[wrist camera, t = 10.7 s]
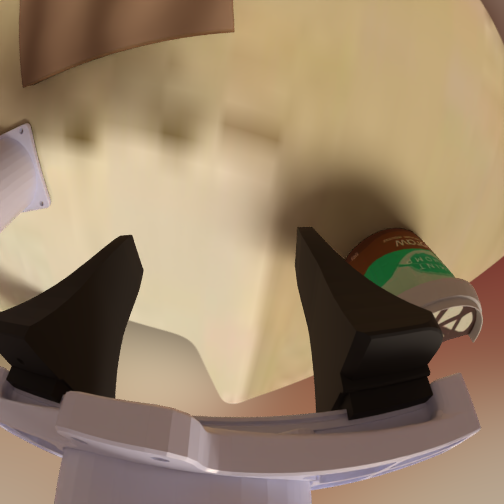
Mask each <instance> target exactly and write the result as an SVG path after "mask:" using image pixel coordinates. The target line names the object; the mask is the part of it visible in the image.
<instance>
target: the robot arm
mask: <svg viewBox="0 0 504 504" xmlns="http://www.w3.org/2000/svg"><path fill="white" fill-rule="evenodd" d="M22 129H23V132H22ZM42 202H43V203H42ZM50 205H51V200H50V197H49V194H48V190H47V187H46V184H45V181H44V178H43V174H42V171H41V167H40V163H39V160H38V156H37V152H36V148H35V143H34V139H33V135H32V130H31V126H30V124H29V123H25V124H23V125H21V126H19V127H17V128H14V129H12V130H10V131H8V132H6V133H4V134H2V135H0V233H1V232H2V231H3V230H4V229H5V228H6V227H7V226H8V225H9V224H10V223H11V222H12V221H13V220H14V219H15V218H16V217H17V216H18V215H19V214H20V213H21V212H27V211H32V210H37V209H43V208H48V207H49V206H50ZM295 270H296V278H297V286H298V290H299V294H300V298H301V302H302V306H303V310H304V314H305V318H306V322H307V326H308V331H309V336H310V343H311V352H312V361H313V371H314V384H315V397H316V398H315V399H316V413H311V414H300V415H287V416H273V417H207V416H191V415H190V414H188V413H185V412H182V411H179V410H176V409H174V408H170V407H165V406H160V405H155V404H147V403H140V402H133V401H126V400H120V399H115V389H116V377H117V368H118V361H119V354H120V349H121V344H122V339H123V335H124V331H125V328H126V325H127V322H128V319H129V317H130V314H131V311H132V308H133V306H134V303H135V300H136V297H137V295H138V292H139V289H140V285H141V280H142V276H143V271H144V270H143V267H142V264H141V261H140V258H139V255H138V252H137V249H136V246H135V243H134V239H133V236H132V235H123V236H119V237H118V238H116V239H115V240H113V241H112V242H111V243H109V244H108V245H107V246H105V247H104V248H103V249H102V250H101V251H99V252H98V253H97V254H96V255H94V256H93V257H92V258H91V259H90V260H88V261H87V262H86V263H85V264H83V265H82V266H81V267H79V268H78V269H77V270H76V271H74V272H73V273H72V274H70V275H69V276H68V277H66V278H65V279H63V280H62V281H61V282H59V283H58V284H56V285H55V286H53V287H51V288H50V289H48V290H46V291H45V292H43V293H41V294H40V295H38V296H36V297H34V298H32V299H30V300H28V301H26V302H24V303H22V304H20V305H18V306H15V307H13V308H10V309H8V310H5V311H3V312H0V354H1V355H2V356H3V357H4V358H5V359H6V360H7V362H8V363H9V364H11V366H12V367H11V369H10V371H8V370H7V369H6V368H4V367H1V366H0V426H1V427H2V428H4V429H5V430H7V431H8V432H10V433H12V434H14V435H15V436H17V437H19V438H21V439H23V440H25V441H27V442H29V443H31V444H33V445H35V446H37V447H39V448H41V449H43V450H45V451H47V452H49V453H52V454H54V455H56V456H58V457H61V458H62V462H61V467H60V472H59V477H58V482H57V488H56V495H55V501H54V504H312V500H311V490H316V489H322V488H328V487H334V486H339V485H344V484H348V483H353V482H357V481H361V480H365V479H369V478H373V477H376V476H380V475H383V474H386V473H390V472H393V471H396V470H399V469H402V468H405V467H408V466H411V465H414V464H416V463H419V462H422V461H424V460H427V459H429V458H432V457H435V456H437V455H439V454H442V453H444V452H446V451H448V450H450V449H451V448H453V447H455V446H456V445H458V444H460V443H461V442H463V441H464V440H466V439H468V438H469V437H471V436H472V435H474V434H475V433H477V432H478V431H479V430H480V429H481V427H480V424H479V420H478V418H477V414H476V412H475V409H474V406H473V403H472V400H471V397H470V395H469V392H468V389H467V387H466V384H465V382H464V379H463V377H462V374H461V373H456V374H453V375H450V376H447V377H443V378H440V379H437V380H435V381H433V382H432V383H431V384H429V381H428V378H427V376H429V375H430V370H429V368H428V365H427V364H428V363H429V362H430V360H431V359H432V357H433V356H434V355H435V353H436V352H437V350H438V349H439V347H440V345H441V343H442V340H443V333H442V331H441V329H440V326H439V324H438V322H437V321H436V319H435V317H434V315H433V313H432V312H431V311H429V310H426V309H424V308H422V307H419V306H417V305H414V304H412V303H409V302H407V301H405V300H403V299H401V298H399V297H397V296H395V295H394V294H392V293H390V292H388V291H386V290H385V289H383V288H381V287H380V286H378V285H377V284H375V283H373V282H372V281H371V280H369V279H368V278H366V277H365V276H364V275H362V274H361V273H359V272H358V271H357V270H356V269H354V268H353V267H352V266H351V265H350V264H348V263H347V262H346V261H345V260H344V259H343V258H342V257H341V256H339V255H338V254H337V253H336V252H335V251H334V250H333V249H332V248H331V247H330V246H329V245H328V244H327V243H326V242H325V240H324V239H323V238H322V237H321V236H320V235H319V234H318V233H317V232H316V231H315V230H314V229H313V228H312V227H297V243H296V259H295Z"/></svg>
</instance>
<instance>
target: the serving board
mask: <svg viewBox="0 0 504 504" xmlns="http://www.w3.org/2000/svg"><path fill="white" fill-rule="evenodd" d="M228 32H234V14H233V0H20V16H19V44H20V63H21V75H22V84H23V87H27V86H31V85H34V84H36V83H39V82H41V81H43V80H45V79H47V78H49V77H51V76H54V75H56V74H58V73H61V72H63V71H65V70H68V69H70V68H73V67H76V66H78V65H81V64H83V63H86V62H89V61H92V60H95V59H98V58H101V57H104V56H107V55H110V54H114V53H117V52H121V51H124V50H128V49H132V48H136V47H140V46H144V45H148V44H153V43H157V42H162V41H167V40H173V39H179V38H185V37H192V36H199V35H207V34H217V33H228Z"/></svg>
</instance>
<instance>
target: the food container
mask: <svg viewBox="0 0 504 504" xmlns="http://www.w3.org/2000/svg"><path fill="white" fill-rule="evenodd" d="M345 261H346V262H347V263H348V264H350V265H351V266H352V267H353V268H354V269H356V270H357V271H358V272H359V273H361V274H362V275H364V276H365V277H366V278H368V279H369V280H371V281H372V282H373V283H375V284H377V285H378V286H380V287H381V288H383V289H385V290H386V291H388V292H390V293H392V294H394V295H395V296H397V297H399V298H401V299H403V300H405V301H407V302H409V303H412V304H414V305H417V306H419V307H422V308H424V309H426V310H429V311H431V312H432V313H433V315H434V317H435V319H436V321H437V322H438V324H439V326H440V329H441V331H442V333H443V340H442V342H444V341H446V340H449V339H453V338H456V337H460V336H463V335H467V334H468V335H469V337H470V338H471V340H472V342H474V341H475V339H476V338H477V336H478V334H479V332H480V330H481V327H482V323H483V317H482V310H481V305H480V302H479V299H478V296H477V294H476V291H475V290H474V288H473V286H472V285H471V284H470V283H469V282H468V281H465V280H463V279H459V278H455V277H454V275H453V274H452V273H451V272H450V271H449V270H448V268H447V267H446V266H445V265H444V264H443V263H442V261H441V260H440V259H439V258H438V257H437V256H436V255H435V254H434V253H433V251H432V250H431V249H430V248H429V247H428V246H427V245H426V244H425V243H424V242H423V241H422V240H421V239H420V238H419V237H418V236H417V235H416V234H414V233H413V232H412V231H409V230H406V229H402V228H392V229H386V230H382V231H379V232H377V233H375V234H373V235H371V236H369V237H367V238H366V239H364V240H363V241H362V242H360V243H359V244H358V245H357V246H356V247H355V248H354V249H353V250H352V251H351V253H350V254H349V255H348V257H347V258H346V260H345Z"/></svg>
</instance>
